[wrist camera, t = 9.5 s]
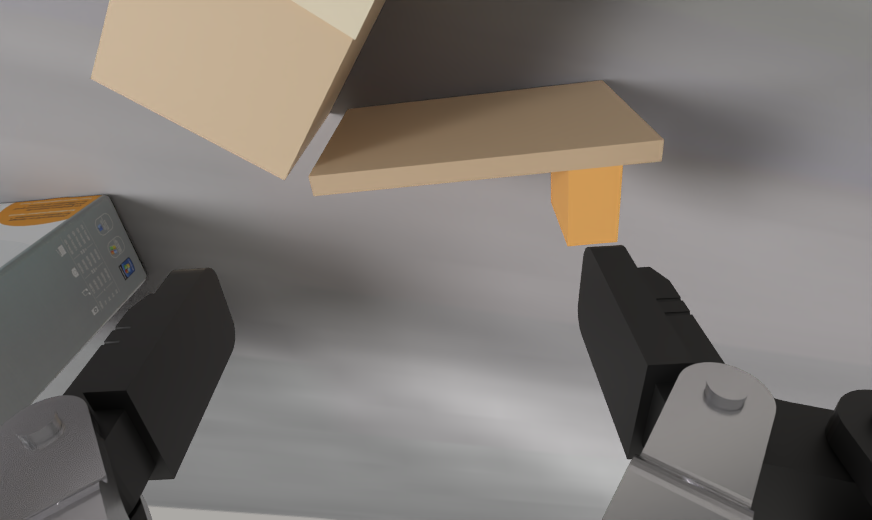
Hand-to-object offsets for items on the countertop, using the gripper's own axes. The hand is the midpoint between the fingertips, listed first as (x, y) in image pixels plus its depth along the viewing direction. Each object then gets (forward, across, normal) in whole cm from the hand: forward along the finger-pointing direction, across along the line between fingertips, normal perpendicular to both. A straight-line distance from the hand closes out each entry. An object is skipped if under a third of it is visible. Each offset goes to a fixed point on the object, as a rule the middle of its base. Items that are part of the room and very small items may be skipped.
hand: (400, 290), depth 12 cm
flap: (+24, -3, +5) cm, 25 cm away
